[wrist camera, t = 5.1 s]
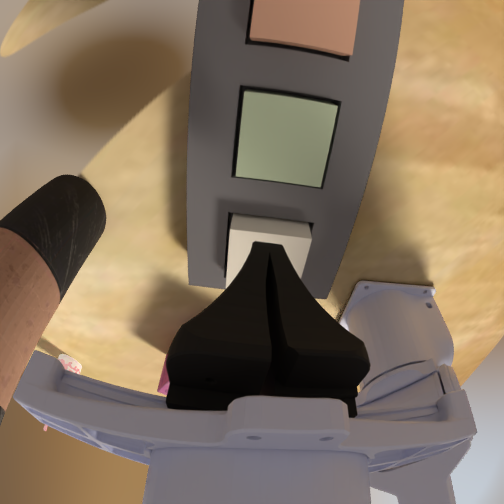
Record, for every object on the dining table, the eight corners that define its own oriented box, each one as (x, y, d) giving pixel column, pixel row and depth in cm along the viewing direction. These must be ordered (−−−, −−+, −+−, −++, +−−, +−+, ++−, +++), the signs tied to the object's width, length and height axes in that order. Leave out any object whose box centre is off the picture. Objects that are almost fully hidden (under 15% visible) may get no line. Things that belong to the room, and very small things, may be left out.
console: (386, -12, 11) (405, -21, 8) (321, 274, 25) (326, 299, 23) (216, -42, 10) (208, -57, 8) (195, 260, 25) (188, 284, 22)
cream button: (308, 221, 19) (311, 238, 18) (293, 277, 22) (295, 296, 21) (233, 212, 19) (230, 229, 17) (228, 270, 22) (225, 289, 20)
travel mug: (106, 174, 20) (-64, 404, 4) (113, 251, 25) (17, 458, 9) (37, 169, 19) (-116, 338, 4) (51, 238, 24) (-53, 406, 8)
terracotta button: (352, -17, 10) (363, -26, 8) (342, 55, 13) (352, 55, 11) (261, -34, 9) (261, -46, 8) (251, 40, 12) (249, 37, 11)
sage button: (330, 101, 15) (337, 106, 14) (315, 175, 18) (320, 187, 17) (246, 88, 15) (244, 91, 13) (238, 164, 18) (235, 176, 16)
